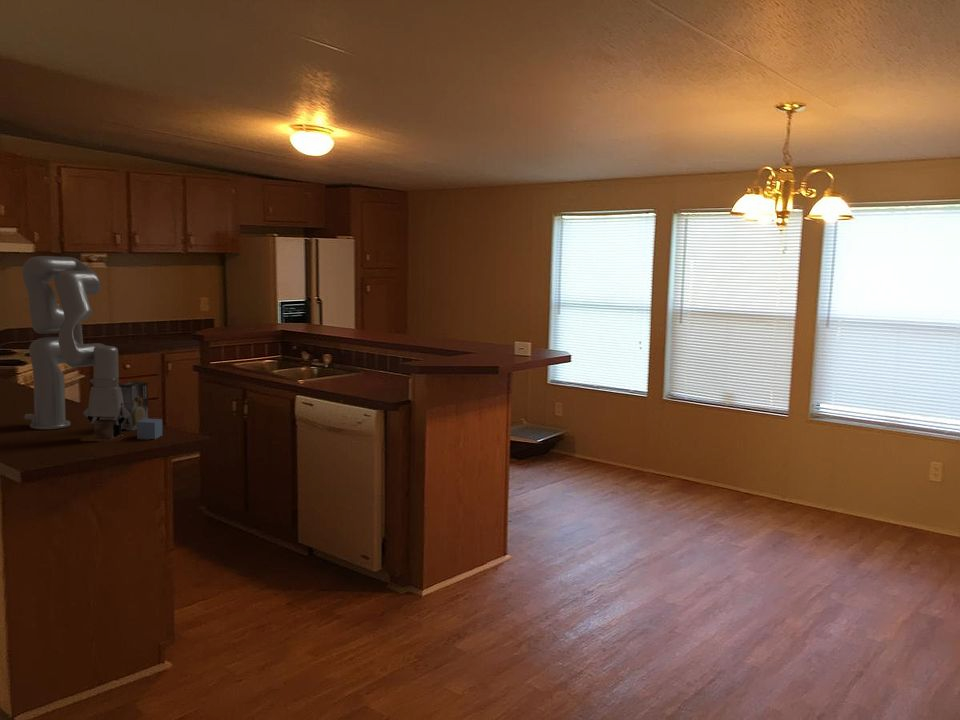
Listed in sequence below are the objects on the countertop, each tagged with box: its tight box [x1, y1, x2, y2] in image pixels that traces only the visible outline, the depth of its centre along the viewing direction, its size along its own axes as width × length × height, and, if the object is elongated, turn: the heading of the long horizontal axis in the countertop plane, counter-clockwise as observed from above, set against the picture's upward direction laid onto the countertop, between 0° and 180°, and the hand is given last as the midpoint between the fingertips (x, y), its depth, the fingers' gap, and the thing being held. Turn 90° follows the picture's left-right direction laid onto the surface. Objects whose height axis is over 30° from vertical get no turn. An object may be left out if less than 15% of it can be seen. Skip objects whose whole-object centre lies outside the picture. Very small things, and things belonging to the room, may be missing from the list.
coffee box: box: [119, 381, 149, 431], centre depth 274 cm, size 9×6×16 cm
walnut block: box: [93, 417, 121, 440], centre depth 258 cm, size 6×6×6 cm
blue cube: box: [136, 418, 163, 440], centre depth 261 cm, size 6×6×6 cm
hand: (107, 435), depth 258 cm, fingers closed on walnut block, 6 cm apart
